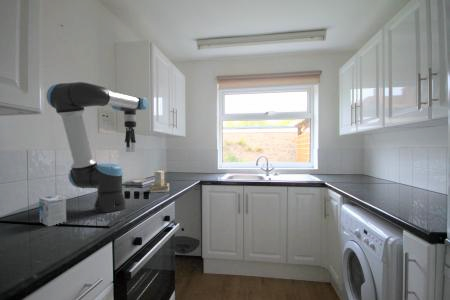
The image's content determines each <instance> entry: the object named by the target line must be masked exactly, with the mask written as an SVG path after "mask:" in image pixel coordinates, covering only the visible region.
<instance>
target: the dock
mask: <svg viewBox="0 0 450 300" xmlns="http://www.w3.org/2000/svg"><path fill="white" fill-rule="evenodd" d="M169 191H170V183H167V182H166V183H165V182H164V186H155V183H151V185H150V186H149V193H152V194H153V193H168V192H169Z"/></svg>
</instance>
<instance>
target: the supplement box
mask: <svg viewBox="0 0 450 300" xmlns="http://www.w3.org/2000/svg"><path fill="white" fill-rule="evenodd" d="M164 183H165V170H157V171H154V184H155V186H164Z"/></svg>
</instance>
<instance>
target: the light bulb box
mask: <svg viewBox="0 0 450 300" xmlns="http://www.w3.org/2000/svg"><path fill="white" fill-rule="evenodd" d="M66 199H67V197H65V196H60V195H57V194H53V195H50V196H43V197H39V199H38V200H39V202H38V203H39V204H38V205H39V223H42V224H43V225H45V226H47V227H52V226H56V224H57V225H60V224H59V223H61V224H64V223H63V222H65V223H67V200H66Z"/></svg>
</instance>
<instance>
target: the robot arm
mask: <svg viewBox="0 0 450 300" xmlns="http://www.w3.org/2000/svg"><path fill="white" fill-rule="evenodd" d="M45 97H46V100H47V103H48V105H49V106H50V107H51V108H53V109H55V111H56V114H57V115H59V116H61V118H62V119H61V120H62V124H63V126H64V130H65V134H66V138H67V142H68V146H69V150H70V152H71V157H72V160H73V163H72V164H71V169H70V170H69V173H68V179H69V180H68V181H69V182H70V184H71V185H72V186H74V187H75V188H81V189H97V195H96V199H95V201H94V205H93V212H95V213H111V212H117V211H122V210H124V209H125V208H127V202H126V198H125V196H124V194H123V171H122V166H121V165H120V164H117V163H116V164H115V163H97V160H96V159H94V158H93V155H92V152H91V146H90V142H89V138H88V135H87V131H86V126H85V121H84V118H83V113H84V111H85V108H88V107H105V106H110V107H111V108H112V109H113V110H115V111H120V112H123V113H124V114H123V115H124V116H123V119H124V127H125V138H124V143H125V149H126V150H125V152H126V153H135V152H136V143H137V140H136V135H135V128H136V127H137V122H136V121H137V111H142V110H147V109H148V107H149V102H148V99H147V98H146V97H142V96H141V97H137V96H132V95H128V94H125V93H121V92H116V91H111V90H109V89H108V88H106V87H104V86H101V85H97V84H94V83H93V84H92V83H89V82H84V81H83V82H82V81H78V82H67V83H65V82H64V83H63V82H61V83H57V84H53V85H51V86H49V88H48V89H47V91H46V95H45Z"/></svg>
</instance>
